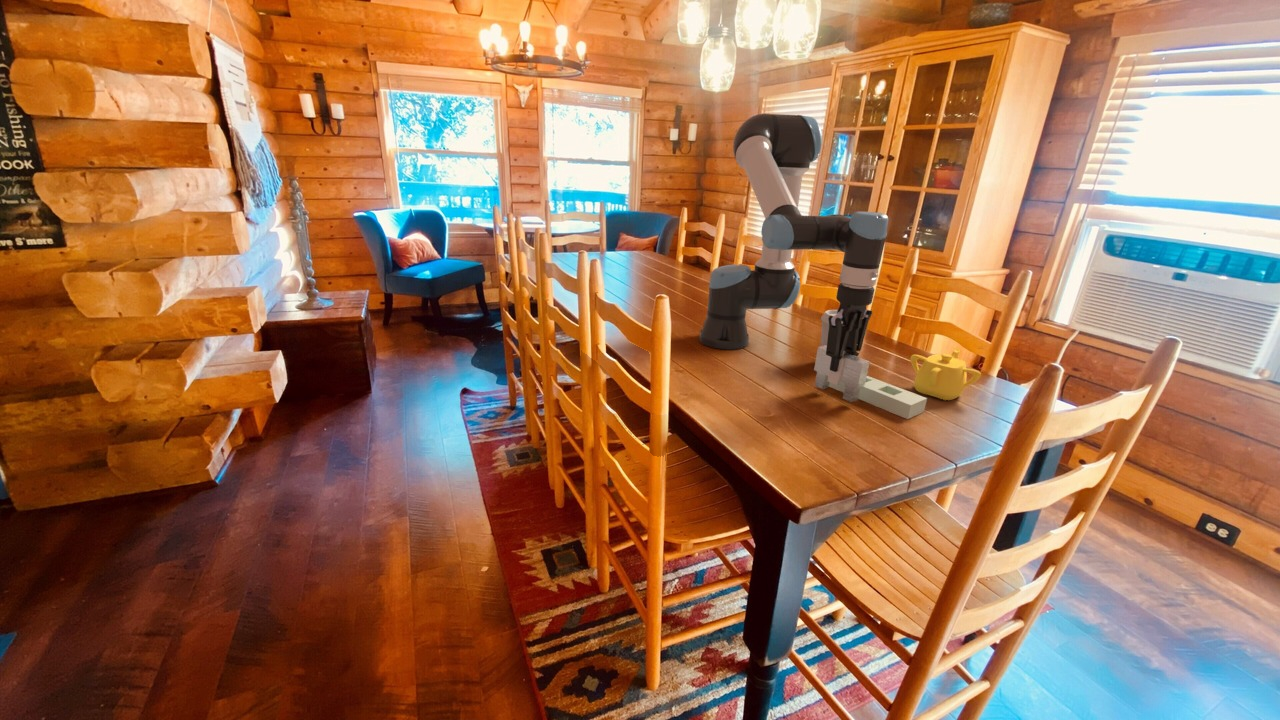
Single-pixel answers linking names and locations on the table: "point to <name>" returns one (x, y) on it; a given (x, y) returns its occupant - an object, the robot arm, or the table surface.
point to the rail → (888, 397)
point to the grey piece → (851, 373)
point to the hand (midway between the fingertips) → (837, 381)
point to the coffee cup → (826, 325)
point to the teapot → (942, 375)
